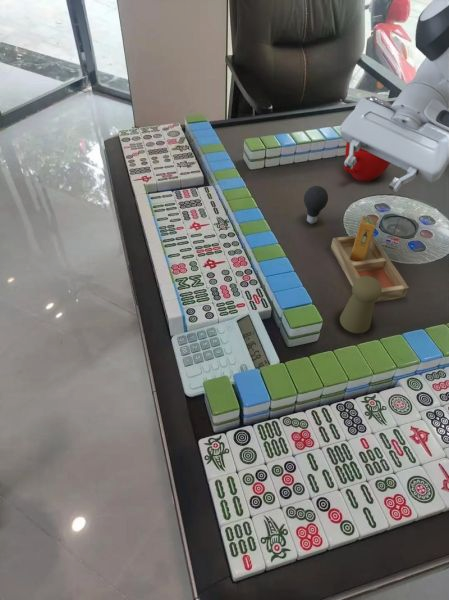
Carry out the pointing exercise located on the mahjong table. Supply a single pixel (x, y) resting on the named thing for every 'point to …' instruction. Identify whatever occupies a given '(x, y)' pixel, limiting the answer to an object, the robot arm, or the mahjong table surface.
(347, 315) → the olive pawn figure
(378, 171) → the ceramic cup
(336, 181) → the mahjong table surface
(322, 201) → the light bulb
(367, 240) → the supplement box
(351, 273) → the sorting tray
